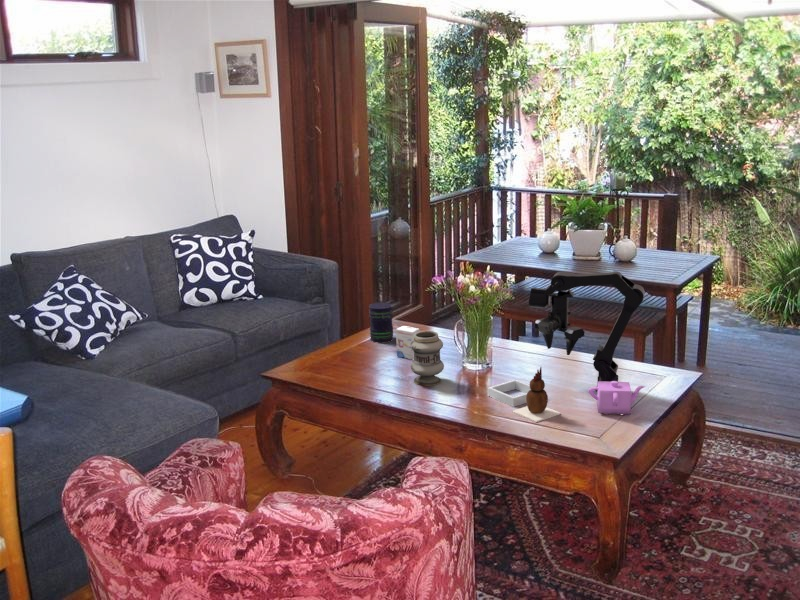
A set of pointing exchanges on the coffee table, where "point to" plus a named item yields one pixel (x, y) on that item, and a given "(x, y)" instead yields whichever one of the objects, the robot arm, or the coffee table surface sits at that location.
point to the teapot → (614, 397)
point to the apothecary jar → (427, 358)
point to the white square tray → (498, 390)
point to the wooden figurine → (537, 394)
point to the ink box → (405, 341)
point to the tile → (536, 414)
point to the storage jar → (381, 322)
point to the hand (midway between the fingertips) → (558, 351)
